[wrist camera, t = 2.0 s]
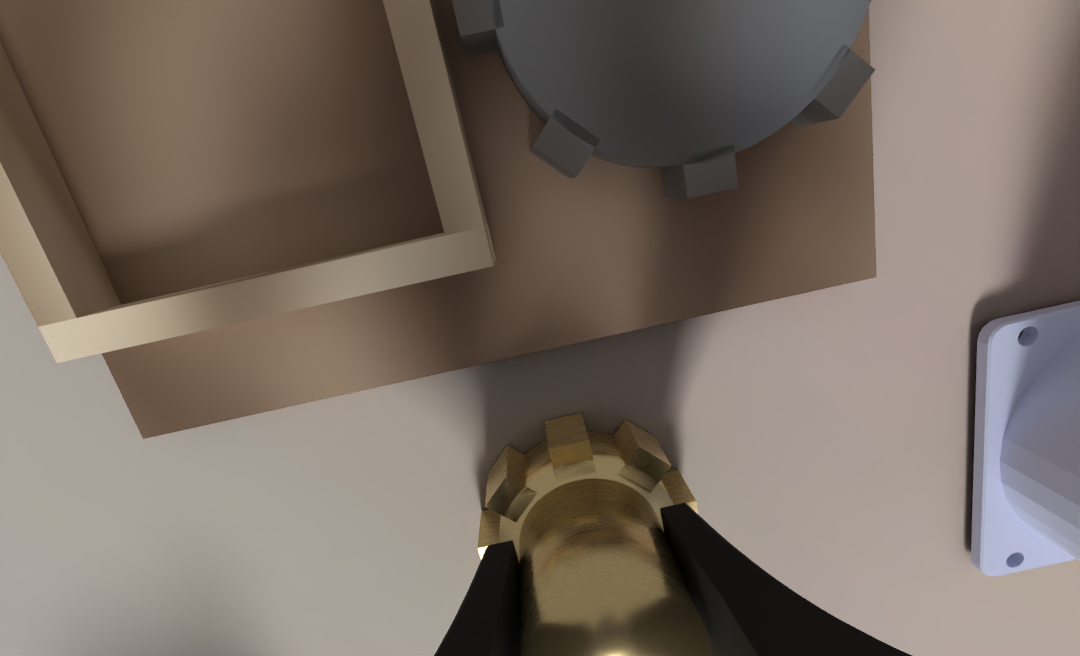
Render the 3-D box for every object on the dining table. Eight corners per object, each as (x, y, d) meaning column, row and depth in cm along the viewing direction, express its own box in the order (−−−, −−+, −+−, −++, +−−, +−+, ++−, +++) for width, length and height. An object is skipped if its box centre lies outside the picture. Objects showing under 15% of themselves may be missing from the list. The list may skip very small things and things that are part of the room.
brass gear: (665, 394, 13) (749, 509, 9) (692, 564, 15) (776, 743, 10) (460, 439, 14) (430, 579, 9) (508, 604, 15) (505, 801, 10)
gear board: (822, -495, 9) (925, -720, 7) (854, 271, 13) (925, 289, 11) (-156, -264, 9) (-370, -408, 7) (165, 423, 13) (93, 472, 11)
